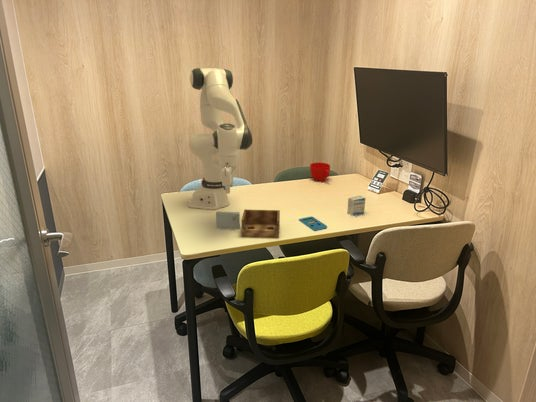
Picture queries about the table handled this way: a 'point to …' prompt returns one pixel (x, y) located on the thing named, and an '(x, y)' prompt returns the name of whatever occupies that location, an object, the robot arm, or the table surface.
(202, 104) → the robot arm
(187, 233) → the table surface
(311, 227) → the handheld gaming device
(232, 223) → the door
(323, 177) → the ceramic cup
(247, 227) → the wooden box
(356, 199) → the medicine box
